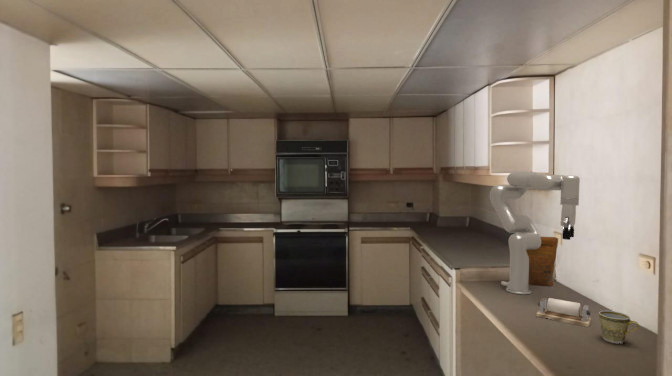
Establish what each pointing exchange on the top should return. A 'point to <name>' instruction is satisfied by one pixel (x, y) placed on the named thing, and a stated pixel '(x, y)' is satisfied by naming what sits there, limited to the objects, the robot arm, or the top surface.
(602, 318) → the ceramic cup
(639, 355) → the top surface
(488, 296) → the top surface
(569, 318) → the roll cradle
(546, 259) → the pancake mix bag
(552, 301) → the paper roll
